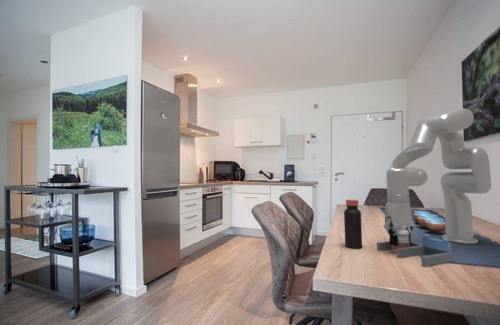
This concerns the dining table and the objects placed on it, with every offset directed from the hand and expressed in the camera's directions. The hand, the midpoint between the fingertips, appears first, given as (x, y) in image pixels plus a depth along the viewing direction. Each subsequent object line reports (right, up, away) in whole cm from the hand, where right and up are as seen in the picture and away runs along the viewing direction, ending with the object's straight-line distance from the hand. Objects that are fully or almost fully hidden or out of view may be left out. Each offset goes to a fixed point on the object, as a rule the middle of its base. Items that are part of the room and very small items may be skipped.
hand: (400, 243), depth 97 cm
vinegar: (-16, -4, +8) cm, 18 cm away
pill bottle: (0, -3, 0) cm, 3 cm away
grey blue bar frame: (+1, -3, -5) cm, 6 cm away
